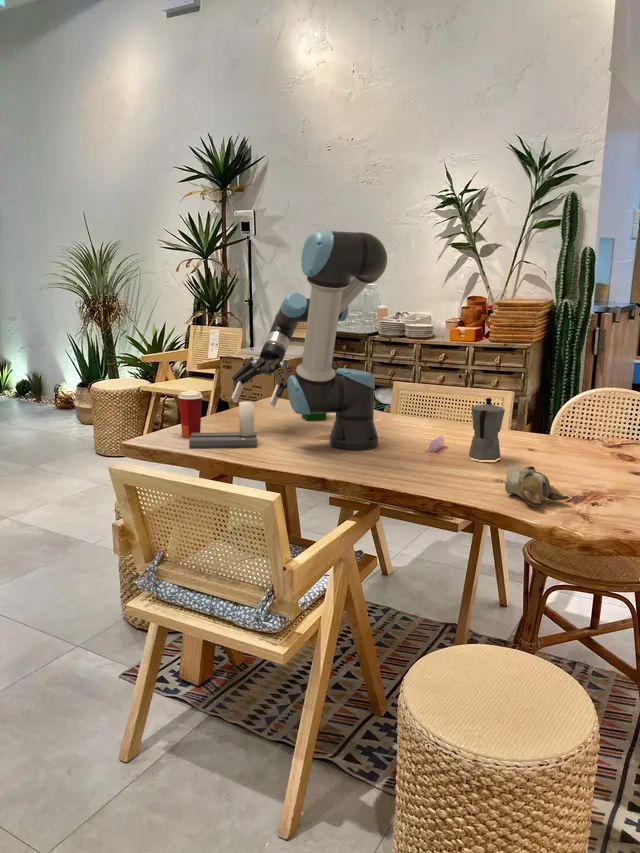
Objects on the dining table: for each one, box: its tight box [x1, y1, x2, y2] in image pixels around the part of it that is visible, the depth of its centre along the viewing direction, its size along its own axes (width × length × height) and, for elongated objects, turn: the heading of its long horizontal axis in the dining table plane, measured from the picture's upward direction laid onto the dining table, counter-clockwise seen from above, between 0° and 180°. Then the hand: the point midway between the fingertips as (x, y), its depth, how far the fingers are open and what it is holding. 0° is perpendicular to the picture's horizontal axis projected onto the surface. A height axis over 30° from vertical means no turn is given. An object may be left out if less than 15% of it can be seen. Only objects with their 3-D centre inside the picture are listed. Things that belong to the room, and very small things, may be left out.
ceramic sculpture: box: [504, 463, 570, 507], centre depth 161 cm, size 11×9×15 cm
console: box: [188, 431, 258, 449], centre depth 208 cm, size 20×10×3 cm, turn 96°
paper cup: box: [177, 390, 204, 439], centre depth 215 cm, size 8×8×14 cm
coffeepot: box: [468, 397, 506, 460], centre depth 193 cm, size 15×9×18 cm, turn 156°
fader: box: [238, 400, 255, 437], centre depth 207 cm, size 4×4×12 cm
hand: (252, 402), depth 211 cm, fingers open, 13 cm apart
